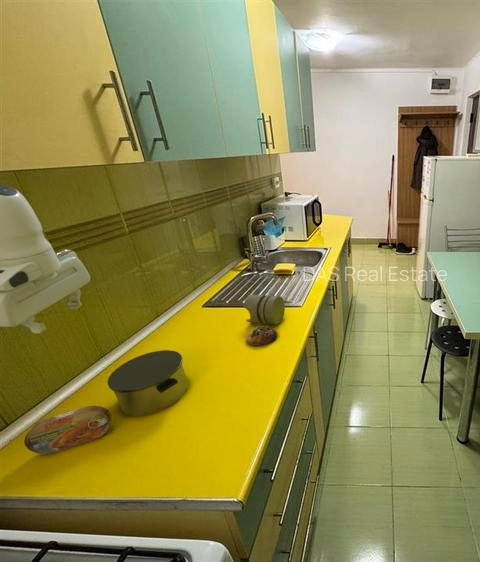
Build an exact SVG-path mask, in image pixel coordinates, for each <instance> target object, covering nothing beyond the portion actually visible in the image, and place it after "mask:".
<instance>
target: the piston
mask: <svg viewBox="0 0 480 562" xmlns="http://www.w3.org/2000/svg"><path fill="white" fill-rule="evenodd" d="M285 304H286V303H285V300H284V298H283V296H281V295H265V294H249V295H248V296H247V297H246V298H245V300H244V303H243V306H242V308H244V309H246V310H247V311H248V313H249V318H248V319H246V320H245V321H246V323H255V324H268V325H279V324H280V323H282V321H283V319H284V316H285V313H286V312H285V311H286V305H285Z"/></svg>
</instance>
